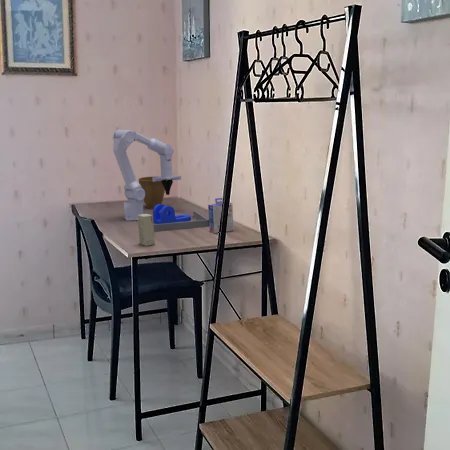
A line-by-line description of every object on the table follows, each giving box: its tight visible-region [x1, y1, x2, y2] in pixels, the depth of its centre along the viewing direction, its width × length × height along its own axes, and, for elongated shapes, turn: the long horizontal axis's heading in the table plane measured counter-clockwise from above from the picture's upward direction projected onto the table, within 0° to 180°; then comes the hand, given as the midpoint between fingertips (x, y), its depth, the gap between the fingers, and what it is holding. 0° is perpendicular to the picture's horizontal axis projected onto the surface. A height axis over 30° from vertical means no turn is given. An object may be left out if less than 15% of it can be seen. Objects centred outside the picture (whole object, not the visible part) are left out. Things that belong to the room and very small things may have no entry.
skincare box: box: [137, 213, 156, 247], centre depth 256 cm, size 6×4×12 cm
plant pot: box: [137, 176, 166, 210], centre depth 337 cm, size 15×15×16 cm
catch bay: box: [154, 209, 209, 233], centre depth 295 cm, size 28×25×3 cm
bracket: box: [152, 203, 192, 225], centre depth 299 cm, size 18×8×9 cm, turn 129°
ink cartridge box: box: [207, 197, 234, 234], centre depth 275 cm, size 10×6×14 cm, turn 118°
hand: (167, 194), depth 321 cm, fingers closed
